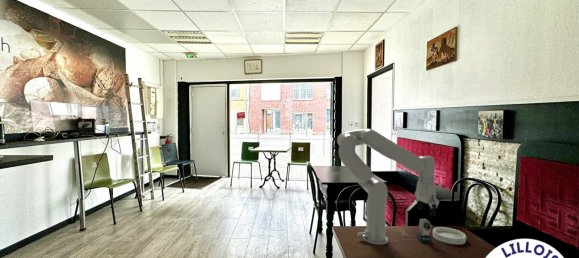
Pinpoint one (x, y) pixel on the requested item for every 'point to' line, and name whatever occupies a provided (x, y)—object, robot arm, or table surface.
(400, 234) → the table surface
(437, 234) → the dish
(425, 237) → the watch
